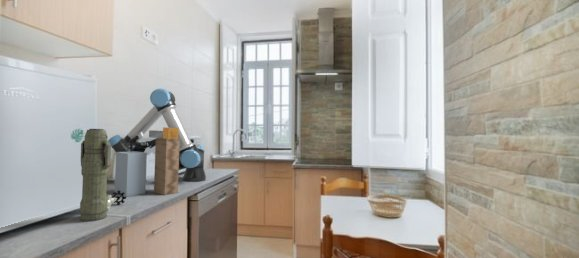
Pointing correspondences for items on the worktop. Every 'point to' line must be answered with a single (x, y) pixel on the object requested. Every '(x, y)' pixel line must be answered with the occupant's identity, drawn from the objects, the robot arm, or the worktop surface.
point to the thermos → (94, 174)
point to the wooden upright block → (166, 166)
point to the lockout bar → (164, 133)
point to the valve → (114, 199)
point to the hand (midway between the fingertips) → (153, 134)
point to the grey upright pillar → (130, 173)
